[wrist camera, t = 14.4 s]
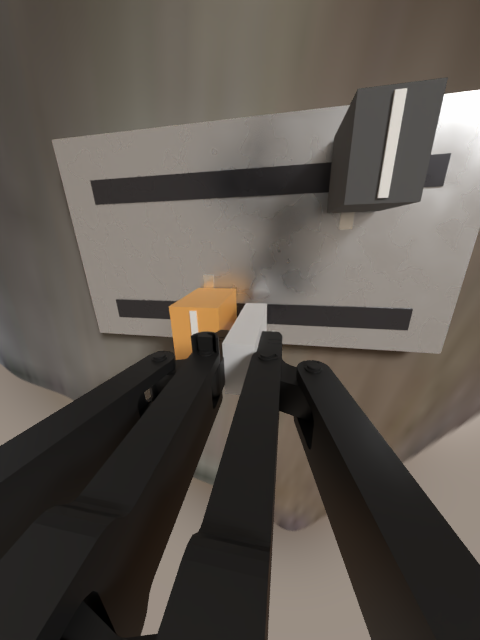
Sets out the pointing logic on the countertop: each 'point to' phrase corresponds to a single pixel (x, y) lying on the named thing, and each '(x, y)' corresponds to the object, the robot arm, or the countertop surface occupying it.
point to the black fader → (384, 146)
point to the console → (272, 228)
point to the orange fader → (201, 316)
